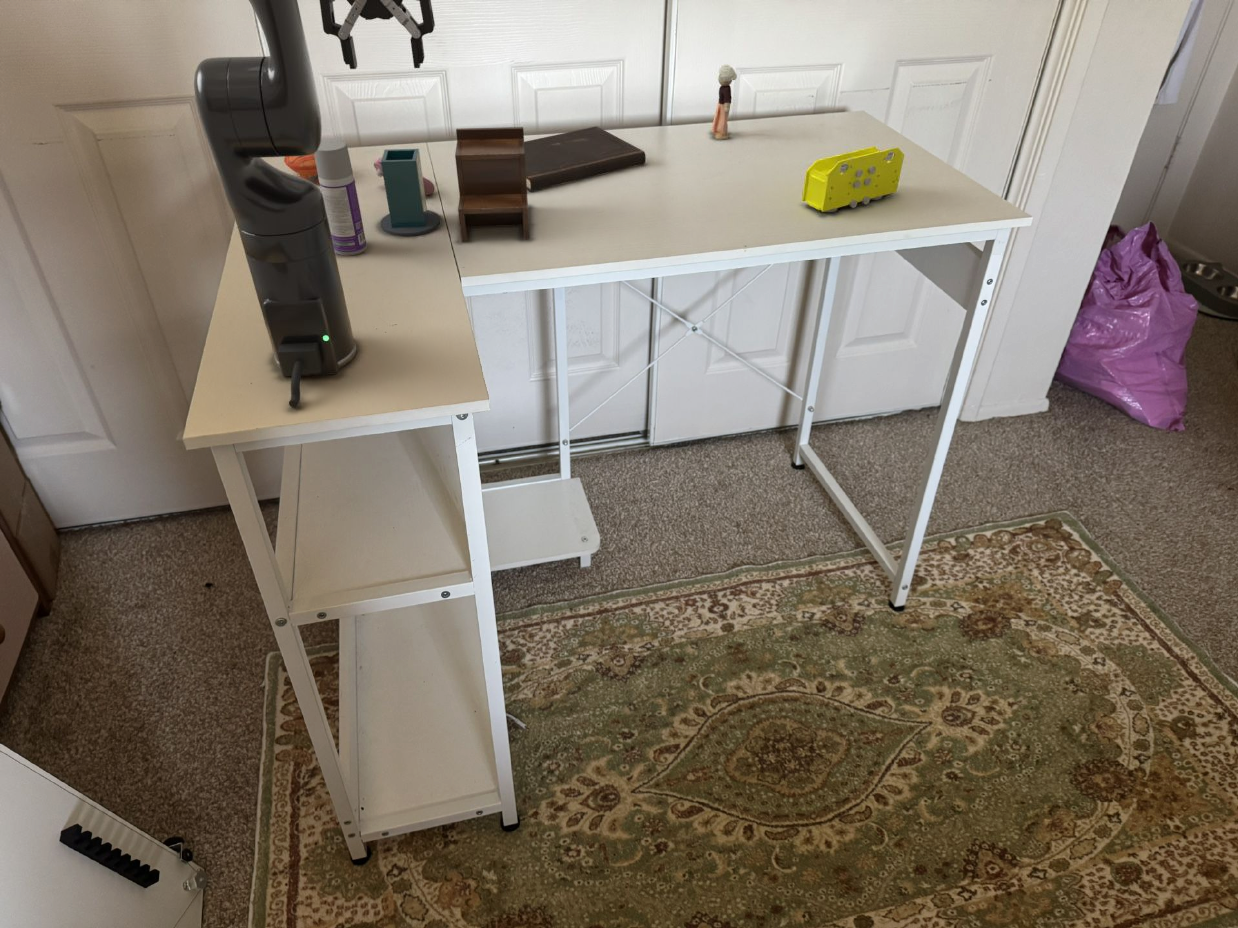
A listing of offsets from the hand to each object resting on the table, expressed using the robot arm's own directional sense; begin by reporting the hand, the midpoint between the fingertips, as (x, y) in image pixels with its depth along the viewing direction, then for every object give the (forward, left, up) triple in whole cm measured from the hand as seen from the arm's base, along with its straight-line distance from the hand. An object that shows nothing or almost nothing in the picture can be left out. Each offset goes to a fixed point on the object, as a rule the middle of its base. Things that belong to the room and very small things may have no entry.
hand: (385, 67), depth 118 cm
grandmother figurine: (+36, -55, -23) cm, 69 cm away
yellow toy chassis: (+4, -70, -23) cm, 74 cm away
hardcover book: (+24, -25, -23) cm, 41 cm away
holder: (+1, 0, -22) cm, 22 cm away
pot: (+21, +18, -23) cm, 36 cm away
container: (-7, +8, -23) cm, 25 cm away
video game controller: (+14, +2, -23) cm, 27 cm away
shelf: (0, -13, -23) cm, 26 cm away
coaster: (+1, 0, -23) cm, 23 cm away
